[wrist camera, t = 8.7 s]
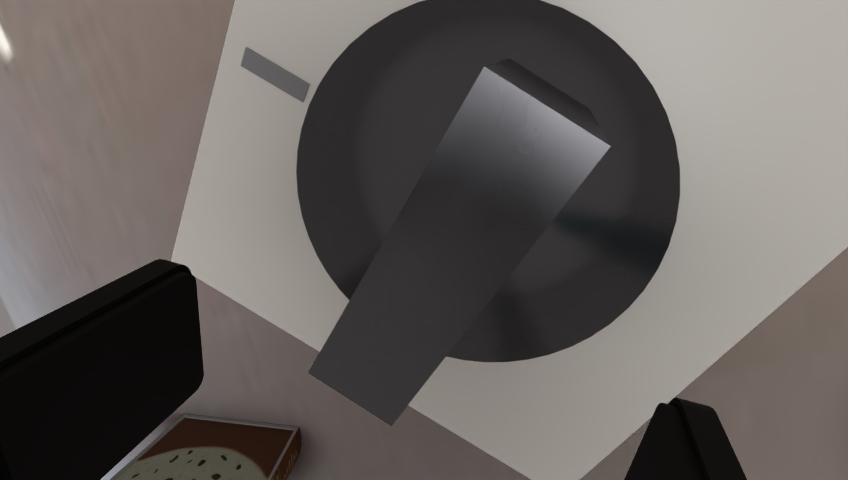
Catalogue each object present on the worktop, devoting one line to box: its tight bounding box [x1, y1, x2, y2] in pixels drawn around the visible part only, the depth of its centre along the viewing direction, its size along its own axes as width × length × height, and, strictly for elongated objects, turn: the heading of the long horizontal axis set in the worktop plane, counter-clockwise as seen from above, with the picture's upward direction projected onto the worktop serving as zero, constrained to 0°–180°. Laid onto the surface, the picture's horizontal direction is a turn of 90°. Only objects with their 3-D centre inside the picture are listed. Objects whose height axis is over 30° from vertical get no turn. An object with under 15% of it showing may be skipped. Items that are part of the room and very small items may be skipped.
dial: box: [296, 0, 680, 426], centre depth 15 cm, size 14×14×8 cm
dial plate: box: [171, 0, 848, 480], centre depth 19 cm, size 24×24×2 cm
